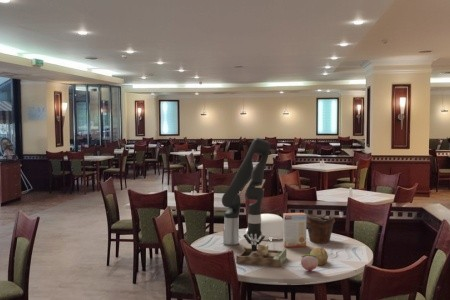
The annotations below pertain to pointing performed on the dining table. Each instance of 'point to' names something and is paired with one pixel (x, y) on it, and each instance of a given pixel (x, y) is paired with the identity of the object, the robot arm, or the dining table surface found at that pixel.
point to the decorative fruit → (309, 261)
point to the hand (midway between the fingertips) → (254, 251)
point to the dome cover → (271, 226)
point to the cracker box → (294, 229)
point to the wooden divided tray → (262, 257)
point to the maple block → (262, 249)
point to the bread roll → (320, 255)
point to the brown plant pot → (319, 228)
